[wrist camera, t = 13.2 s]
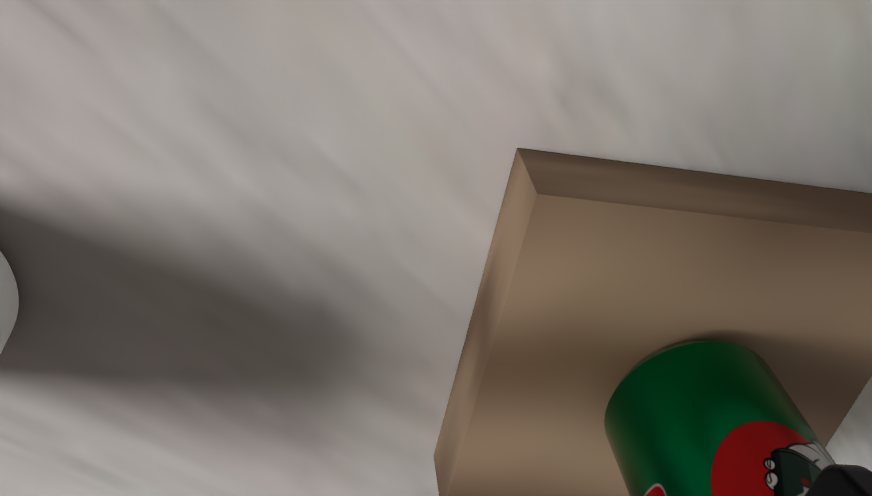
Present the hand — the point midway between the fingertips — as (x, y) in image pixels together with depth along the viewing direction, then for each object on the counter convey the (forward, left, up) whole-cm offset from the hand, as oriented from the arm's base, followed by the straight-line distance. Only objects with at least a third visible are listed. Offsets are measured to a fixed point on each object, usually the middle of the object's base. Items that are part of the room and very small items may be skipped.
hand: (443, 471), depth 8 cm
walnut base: (-8, -10, -13) cm, 18 cm away
